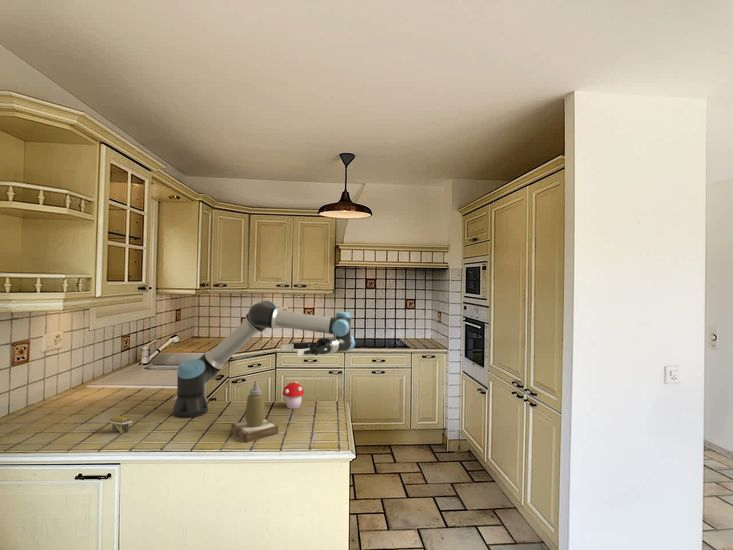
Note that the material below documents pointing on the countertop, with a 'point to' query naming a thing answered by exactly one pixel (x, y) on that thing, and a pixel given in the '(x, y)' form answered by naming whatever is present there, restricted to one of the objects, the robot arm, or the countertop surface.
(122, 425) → the platform
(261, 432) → the picture frame
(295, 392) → the mushroom
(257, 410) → the squeeze bottle
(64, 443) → the countertop surface
